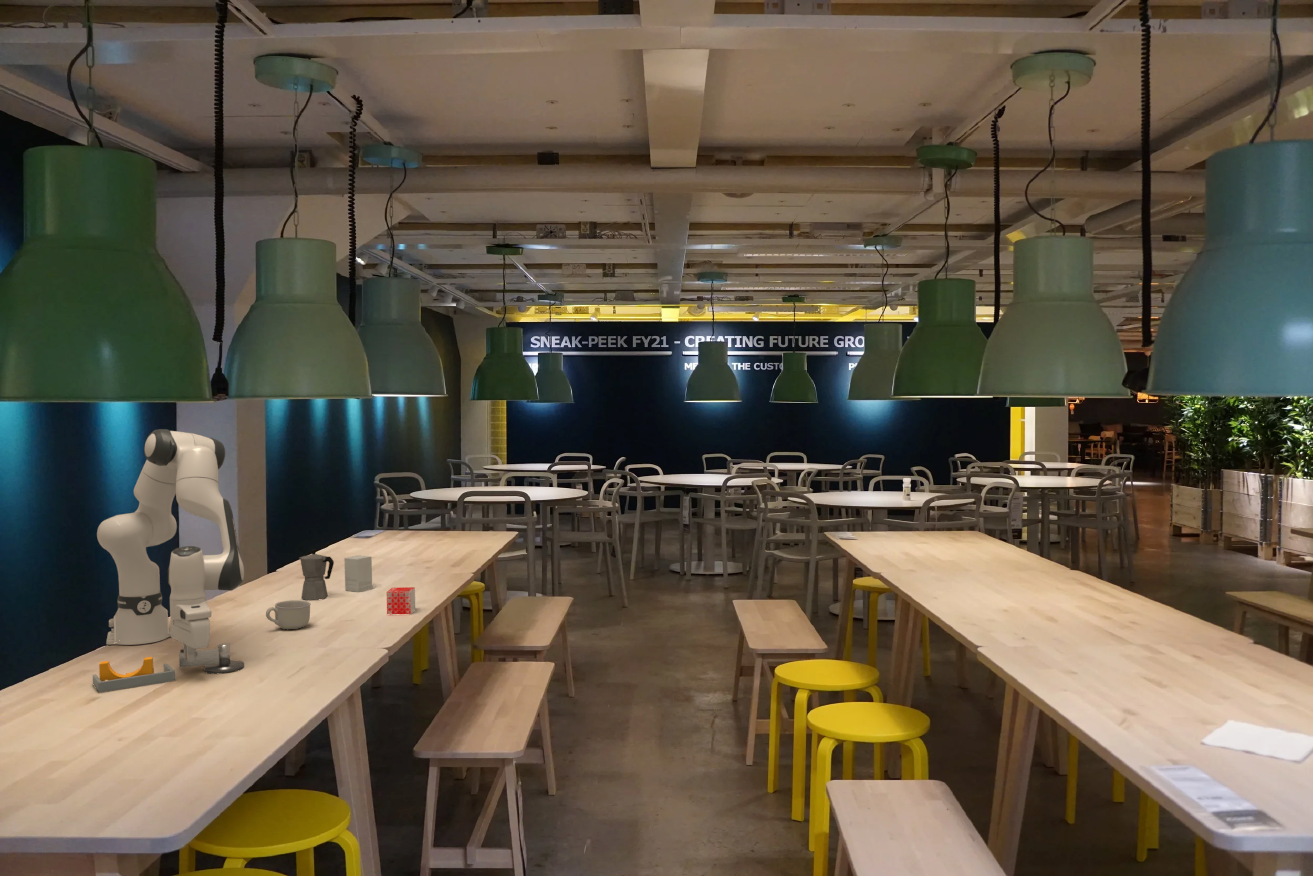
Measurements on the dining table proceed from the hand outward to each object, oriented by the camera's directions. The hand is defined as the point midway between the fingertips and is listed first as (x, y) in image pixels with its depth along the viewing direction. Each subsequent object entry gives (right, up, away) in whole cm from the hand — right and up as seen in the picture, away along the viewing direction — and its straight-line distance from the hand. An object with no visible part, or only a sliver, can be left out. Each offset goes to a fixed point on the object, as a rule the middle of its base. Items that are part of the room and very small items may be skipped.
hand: (189, 660), depth 272 cm
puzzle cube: (+38, -1, +75) cm, 84 cm away
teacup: (+7, -2, +52) cm, 53 cm away
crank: (+3, -2, +3) cm, 5 cm away
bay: (-11, -4, -8) cm, 14 cm away
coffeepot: (0, 0, +101) cm, 101 cm away
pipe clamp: (-12, -5, -9) cm, 16 cm away
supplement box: (+11, +1, +117) cm, 117 cm away
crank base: (+7, -3, +5) cm, 9 cm away
